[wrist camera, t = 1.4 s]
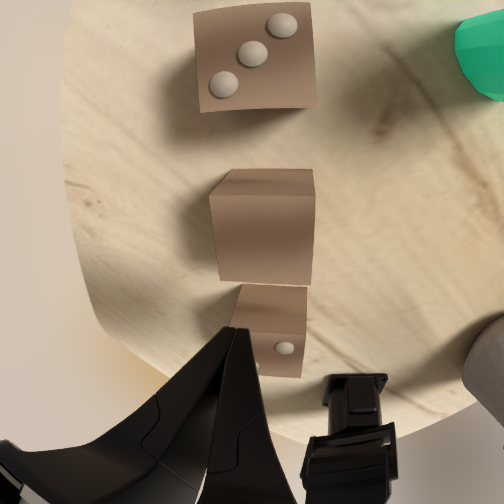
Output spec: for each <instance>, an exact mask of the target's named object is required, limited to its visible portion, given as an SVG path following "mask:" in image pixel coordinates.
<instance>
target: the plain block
mask: <svg viewBox="0 0 504 504" xmlns="http://www.w3.org/2000/svg"><path fill="white" fill-rule="evenodd" d="M315 198H316V196H315V188H314V179H313V171H312V169H232V170H231V171H230V172H229V173H228V174H227V176H226V177H225V178H224V179H223V180H222V181H221V182H220V183H219V185H218V186H217V187H216V188H215V189H214V190H213V191H212V193H211V194H210V195H209V202H210V210H211V218H212V226H213V233H214V241H215V248H216V255H217V262H218V269H219V276H220V281H235V282H253V283H271V284H292V285H311V273H312V259H313V243H314V223H315Z"/></svg>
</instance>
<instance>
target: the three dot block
mask: <svg viewBox="0 0 504 504" xmlns="http://www.w3.org/2000/svg"><path fill="white" fill-rule="evenodd" d="M193 21H194V39H195V54H196V69H197V82H198V94H199V105H200V113H205V112H215V111H227V110H241V109H262V108H316V81H315V60H314V44H313V30H312V18H311V8H310V2H284V3H263V4H251V5H241V6H233V7H225V8H219V9H213V10H207V11H202V12H197V13H193Z"/></svg>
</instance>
